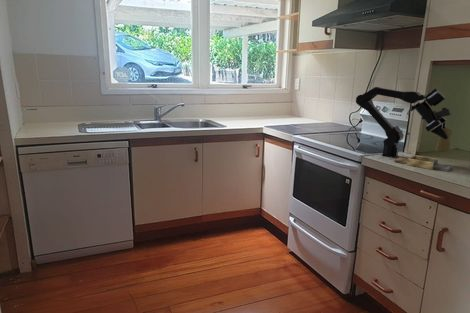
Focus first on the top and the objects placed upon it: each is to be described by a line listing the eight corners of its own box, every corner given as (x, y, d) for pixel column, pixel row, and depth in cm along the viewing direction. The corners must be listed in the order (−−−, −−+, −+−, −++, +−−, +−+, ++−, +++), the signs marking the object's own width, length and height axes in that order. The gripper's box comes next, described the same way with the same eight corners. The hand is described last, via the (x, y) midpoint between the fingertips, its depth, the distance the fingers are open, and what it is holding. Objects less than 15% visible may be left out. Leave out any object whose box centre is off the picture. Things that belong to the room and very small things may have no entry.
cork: (437, 148, 171) (441, 127, 168) (450, 151, 167) (455, 128, 164) (433, 150, 166) (437, 128, 164) (447, 152, 162) (452, 130, 160)
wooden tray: (393, 162, 168) (394, 156, 167) (400, 158, 176) (401, 153, 175) (447, 172, 154) (448, 165, 153) (451, 167, 162) (452, 161, 161)
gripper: (437, 102, 156) (461, 129, 152) (445, 100, 170) (467, 125, 166) (416, 118, 163) (438, 144, 159) (425, 115, 177) (445, 139, 173)
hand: (448, 137), depth 164 cm, fingers closed on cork, 5 cm apart
